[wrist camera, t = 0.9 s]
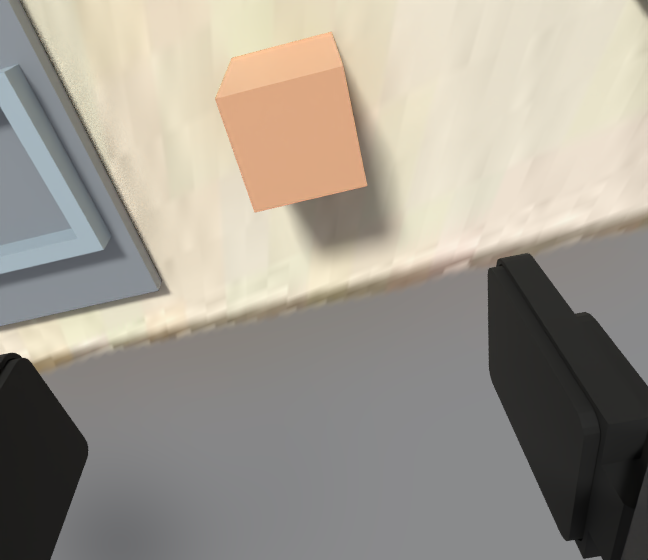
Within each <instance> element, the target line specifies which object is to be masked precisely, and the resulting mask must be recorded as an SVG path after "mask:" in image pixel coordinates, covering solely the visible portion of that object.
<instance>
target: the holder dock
mask: <svg viewBox="0 0 648 560" xmlns="http://www.w3.org/2000/svg"><path fill="white" fill-rule="evenodd" d="M161 282H162V281H161V279H160V277H159V275H158V273H157V271H156V269H155V267H154V265H153V263H152V261H151V259H150V257H149V255H148V253H147V251H146V249H145V247H144V245H143V243H142V241H141V239H140V237H139V235H138V233H137V231H136V229H135V227H134V225H133V223H132V221H131V219H130V218H129V216H128V214H127V212H126V210H125V208H124V206H123V204H122V202H121V200H120V198H119V196H118V194H117V192H116V190H115V188H114V186H113V184H112V182H111V180H110V178H109V176H108V174H107V172H106V170H105V168H104V166H103V164H102V162H101V160H100V158H99V156H98V154H97V152H96V151H95V149H94V147H93V145H92V143H91V141H90V139H89V137H88V135H87V133H86V131H85V129H84V127H83V125H82V123H81V121H80V119H79V117H78V115H77V113H76V111H75V109H74V107H73V105H72V103H71V101H70V99H69V97H68V95H67V93H66V91H65V89H64V87H63V85H62V83H61V82H60V80H59V78H58V76H57V74H56V72H55V70H54V68H53V66H52V64H51V62H50V60H49V58H48V56H47V54H46V52H45V50H44V48H43V46H42V44H41V42H40V40H39V38H38V36H37V34H36V32H35V30H34V28H33V26H32V24H31V22H30V20H29V18H28V16H27V14H26V13H25V11H24V9H23V7H22V5H21V3H20V1H19V0H0V326H3V325H7V324H12V323H16V322H21V321H25V320H30V319H34V318H39V317H43V316H47V315H52V314H56V313H61V312H65V311H70V310H74V309H79V308H83V307H88V306H92V305H96V304H101V303H105V302H110V301H114V300H119V299H123V298H128V297H132V296H137V295H141V294H146V293H150V292H154V291H159V288H160V285H161Z"/></svg>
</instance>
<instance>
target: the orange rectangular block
mask: <svg viewBox="0 0 648 560" xmlns="http://www.w3.org/2000/svg"><path fill="white" fill-rule="evenodd" d="M215 100H216V103H217V106H218V109H219V111H220V114H221V117H222V120H223V123H224V126H225V129H226V132H227V134H228V137H229V140H230V143H231V146H232V149H233V152H234V155H235V158H236V160H237V163H238V166H239V169H240V172H241V175H242V178H243V181H244V183H245V186H246V189H247V192H248V195H249V198H250V201H251V204H252V206H253V209H254V212H259V211H263V210H267V209H272V208H276V207H280V206H284V205H289V204H293V203H297V202H301V201H306V200H310V199H314V198H318V197H323V196H327V195H331V194H336V193H340V192H344V191H348V190H353V189H357V188H361V187H365V186H367V182H366V177H365V172H364V167H363V162H362V157H361V152H360V147H359V142H358V137H357V132H356V127H355V122H354V117H353V112H352V107H351V102H350V97H349V92H348V87H347V82H346V77H345V72H344V67H343V64H342V61H341V58H340V55H339V52H338V49H337V46H336V44H335V41H334V38H333V35H332V32H328V33H325V34H321V35H317V36H313V37H309V38H306V39H302V40H298V41H294V42H290V43H287V44H283V45H279V46H275V47H271V48H268V49H264V50H260V51H256V52H252V53H248V54H245V55H241V56H237V57H233V58H232V59H231V61H230V64H229V66H228V69H227V71H226V73H225V76H224V78H223V81H222V83H221V86H220V88H219V91H218V93H217V95H216V98H215Z"/></svg>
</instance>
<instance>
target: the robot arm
mask: <svg viewBox="0 0 648 560" xmlns="http://www.w3.org/2000/svg"><path fill="white" fill-rule="evenodd" d="M488 324H489V325H488V331H489V332H488V334H489V371H490V376H491V380H492V383H493V385H494V387H495V390H496V392H497V394H498V396H499V398H500V400H501V403H502V405H503V407H504V410H505V411H506V414H507V416H508V418H509V421H510V423H511V425H512V427H513V429H514V432H515V434H516V436H517V438H518V441H519V443H520V445H521V447H522V449H523V452H524V454H525V456H526V458H527V460H528V462H529V465H530V467H531V469H532V472H533V474H534V476H535V478H536V480H537V482H538V485H539V487H540V489H541V491H542V494H543V496H544V498H545V500H546V503H547V505H548V507H549V509H550V511H551V514H552V516H553V518H554V520H555V522H556V524H557V527H558V529H559V531H560V533H561V535H562V536H563V538H564V539H565V540H566V541H570V540H575V542H576V544H577V546H578V548H579V550H580V552H581V555H582V557H583V558H584V559H585V558H591V557H597V556H601V557H602V559H603V560H648V386H647V385H646V383H645V382H644V381H643V380H642V378H641V377H640V376H639V374H638V373H637V372H636V371H635V369H634V368H633V367H632V366H631V364H630V363H629V362H628V360H627V359H626V358H625V357H624V355H623V354H622V353H621V351H620V350H619V349H618V348H617V346H616V345H615V344H614V342H613V341H612V340H611V339H610V337H609V336H608V335H607V333H606V332H605V331H604V330H603V328H602V327H601V326H600V324H599V323H598V322H597V321H596V319H595V318H593V316H591V315H590V314H589V313H586V312H582V313H577V314H574V312H573V311H572V310H571V308H570V307H569V305H568V304H567V303H566V301H565V300H564V299H563V297H562V296H561V295H560V293H559V292H558V291H557V289H556V288H555V287H554V285H553V284H552V282H551V281H550V280H549V279H548V277H547V276H546V274H545V273H544V272H543V270H542V269H541V268H540V266H539V265H538V264H537V262H536V261H535V259H534V258H533V257H532V256H531V255H530V254H528V253H526V254H520V255H515V256H510V257H505V258H500V259H498V261H497V265H496V267H493V268H489V270H488ZM87 456H88V445H87V442H86V440H85V438H84V437H83V435H82V434H81V432H80V431H79V430H78V428H77V427H76V425H75V424H74V422H73V421H72V420H71V418H70V417H69V415H68V414H67V413H66V411H65V410H64V408H63V407H62V405H61V404H60V403H59V402H58V400H57V398H56V397H55V396H54V394H53V393H52V391H51V390H50V389H49V387H48V386H47V384H46V383H45V381H44V380H43V379H42V377H41V376H40V374H39V373H38V372H37V370H36V369H35V367H34V366H33V365H32V363H31V362H30V361H29V360H28V359H26V358H22V357H21V356H20V355H18V354H16V353H8V354H2V355H0V560H50V559H51V556H52V553H53V551H54V548H55V545H56V542H57V540H58V537H59V534H60V531H61V529H62V526H63V523H64V520H65V518H66V515H67V512H68V509H69V507H70V504H71V501H72V498H73V496H74V493H75V490H76V487H77V484H78V482H79V479H80V476H81V473H82V470H83V468H84V465H85V463H86V460H87Z"/></svg>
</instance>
